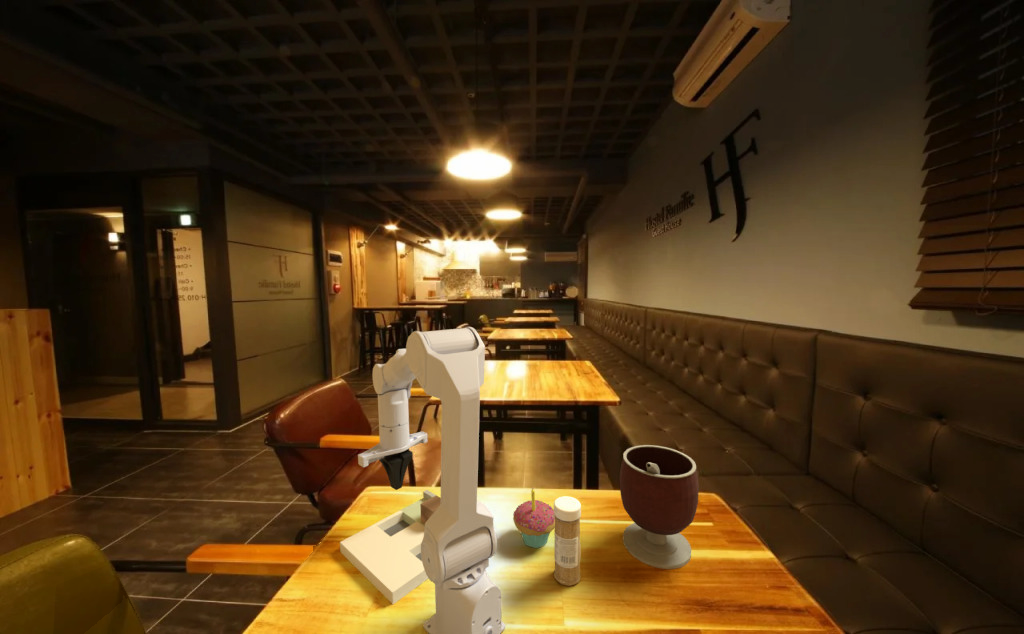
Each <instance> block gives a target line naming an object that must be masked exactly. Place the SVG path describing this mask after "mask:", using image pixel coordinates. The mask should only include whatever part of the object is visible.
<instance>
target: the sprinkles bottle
mask: <svg viewBox="0 0 1024 634" xmlns="http://www.w3.org/2000/svg"><path fill="white" fill-rule="evenodd" d="M553 510H554V516H555V528H554V549H553V550H554V552H553V553H554V572H553V576H554V579H555V580H556V581H557V582H558V583H559V584H561V585H562V586H569V587H570V586H574V585H576V584H578V583H579V582H580V580H581V572H580V571H581V567H580V566H581V565H580V564H581V563H580V562H581V528H580V527H581V523H580V522H581V521H580V519H581V516H582V505H581V502H580V501H579V500H578V499H577V498H575V497H573V496H569V495H568V496H560V497H558V498H556V499H555V500H554V501H553Z"/></svg>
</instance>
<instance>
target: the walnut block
mask: <svg viewBox="0 0 1024 634" xmlns="http://www.w3.org/2000/svg"><path fill="white" fill-rule="evenodd" d="M435 495H436V494H435ZM440 504H441V496H438V495H436V496H434V497H432V498H430V499H428V500H427V501H425V502H423V503H421V504H420V506H421V523H422V524H424V525H425V523H426V522H427V520H428V519H429V518H430V517H431V516H432V514H433V513H434V512H435V511H436V510H437V509H438V507H439V506H440Z"/></svg>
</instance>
